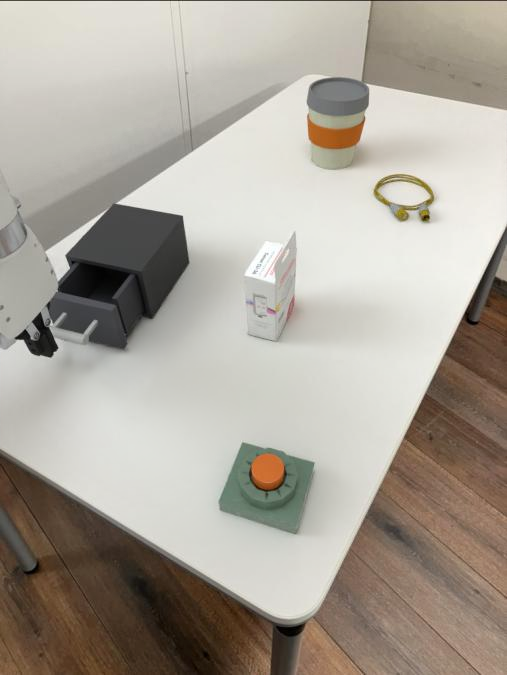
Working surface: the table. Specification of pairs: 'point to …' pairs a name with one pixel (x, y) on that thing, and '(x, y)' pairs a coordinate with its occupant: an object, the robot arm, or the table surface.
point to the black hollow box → (137, 249)
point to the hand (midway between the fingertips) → (45, 350)
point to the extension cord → (399, 209)
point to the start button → (267, 471)
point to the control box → (267, 505)
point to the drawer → (96, 305)
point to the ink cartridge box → (271, 288)
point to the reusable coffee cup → (336, 120)
